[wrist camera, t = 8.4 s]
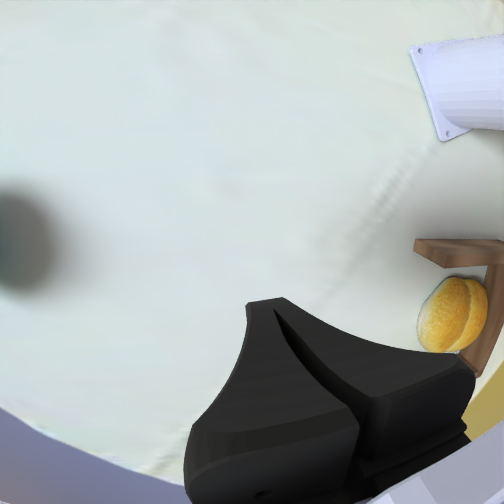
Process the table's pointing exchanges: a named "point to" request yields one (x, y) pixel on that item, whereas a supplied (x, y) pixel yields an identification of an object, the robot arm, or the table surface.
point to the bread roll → (452, 315)
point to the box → (495, 284)
